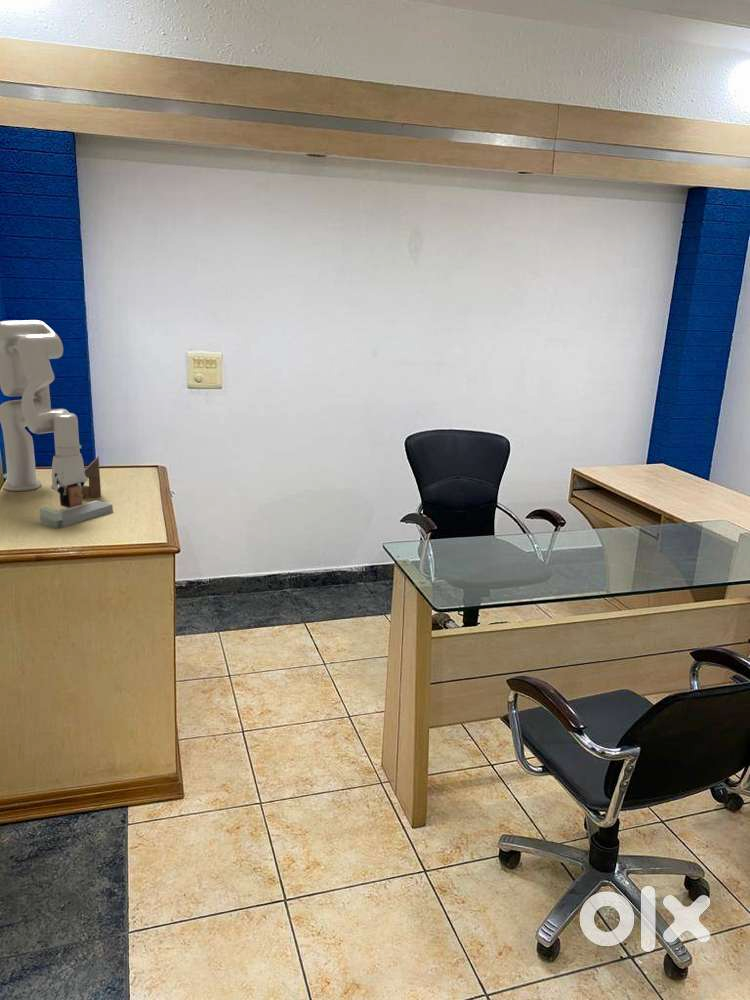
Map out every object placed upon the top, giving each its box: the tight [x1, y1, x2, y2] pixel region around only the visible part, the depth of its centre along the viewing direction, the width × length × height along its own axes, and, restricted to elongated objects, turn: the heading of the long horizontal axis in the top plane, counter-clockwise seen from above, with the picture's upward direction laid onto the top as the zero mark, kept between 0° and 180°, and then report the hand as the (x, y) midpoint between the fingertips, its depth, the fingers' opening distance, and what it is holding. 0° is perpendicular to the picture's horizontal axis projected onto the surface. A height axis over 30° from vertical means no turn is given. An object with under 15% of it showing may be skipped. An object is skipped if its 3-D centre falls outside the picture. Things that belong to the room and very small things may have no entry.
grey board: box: [39, 499, 114, 529], centre depth 258 cm, size 8×22×5 cm, turn 149°
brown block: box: [59, 484, 84, 509], centre depth 264 cm, size 8×4×7 cm, turn 60°
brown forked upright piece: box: [81, 456, 102, 498], centre depth 278 cm, size 4×11×18 cm, turn 105°
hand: (71, 503), depth 265 cm, fingers closed on brown block, 4 cm apart
